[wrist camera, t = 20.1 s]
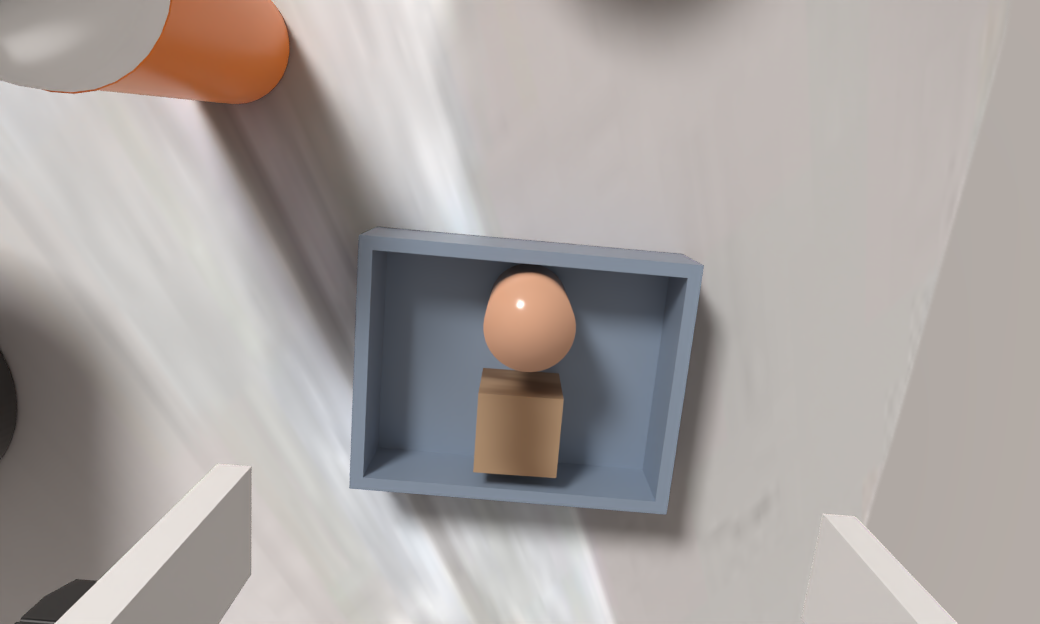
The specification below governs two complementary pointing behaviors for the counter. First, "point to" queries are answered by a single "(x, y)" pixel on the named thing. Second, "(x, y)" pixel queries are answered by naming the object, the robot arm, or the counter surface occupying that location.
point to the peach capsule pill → (529, 319)
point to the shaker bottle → (145, 47)
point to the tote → (464, 353)
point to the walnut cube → (518, 423)
